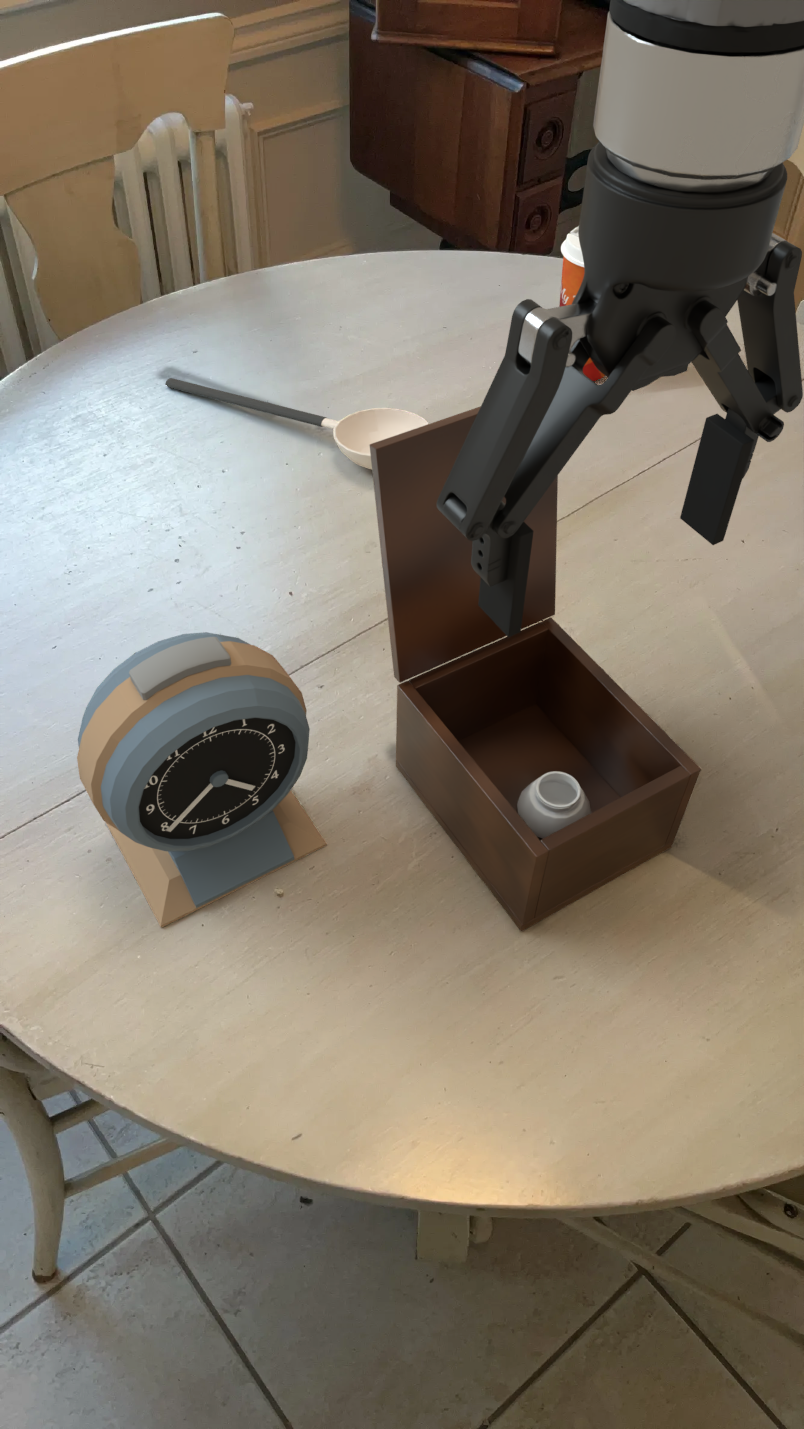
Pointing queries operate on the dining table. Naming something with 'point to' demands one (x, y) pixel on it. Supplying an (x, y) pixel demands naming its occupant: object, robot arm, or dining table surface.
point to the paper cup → (574, 285)
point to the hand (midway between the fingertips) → (604, 572)
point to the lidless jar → (552, 803)
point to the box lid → (443, 552)
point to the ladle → (327, 420)
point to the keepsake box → (540, 767)
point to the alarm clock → (198, 768)
